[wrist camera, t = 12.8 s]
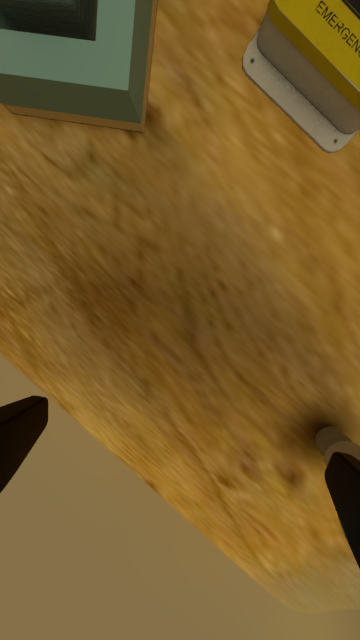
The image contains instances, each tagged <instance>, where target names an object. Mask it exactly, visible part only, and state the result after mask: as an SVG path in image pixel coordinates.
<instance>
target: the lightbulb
mask: <svg viewBox="0 0 360 640" xmlns="http://www.w3.org/2000/svg"><path fill="white" fill-rule="evenodd" d="M315 441H316V444H317V446H318V448H319V449H320V451H321V453H322V454H323V456H324V460H325V464H326V466H327V465H328V463H329V460H330V458H331V455H332V453H334V452H336V451H338V452H343V453H348V454H350V455H352V456H354V457H355V458H356V459H358V460H359V461H360V446H359V445H357V444H356V443H354V442H352V441H351V440H350V439H349V438H348V437H347V436H346V435H345V434H344V433H343V432H342V431H341V430H340V429H338V428H336V427H325V428H322V429H321V430H319V431H318V433H317V435H316V438H315ZM338 519H339V517H338ZM339 522H340V519H339ZM340 525H341V522H340ZM341 528H342V525H341ZM342 531H343V533H344V530H343V528H342ZM344 536H345V538H346V535H345V533H344ZM346 540H347V538H346ZM347 542H348V541H347ZM348 544H349V543H348Z"/></svg>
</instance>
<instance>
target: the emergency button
mask: <svg viewBox="0 0 360 640" xmlns="http://www.w3.org/2000/svg"><path fill="white" fill-rule="evenodd" d="M242 69H243V71H244V72H245V74H246V76H247V77H248V78H249V79H250V80H251V81H252V82H253V83H254V84H255V85H256V86H257V87H258V88H259V89H260V90H261V91H262V92H263V93H264V94H265V95H267V96H268V97H269V98H270V99H271V100H272V101H273V102H274V103H275V104H276V105H277V106H278V107H279V108H280V109H281V110H282V111H283V112H284V113H285V114H286V115H287V116H288V117H289V118H290V119H291V120H292V121H293V122H294V123H295V124H296V125H297V126H298V127H299V128H301V129H302V130H303V131H304V132H305V133H306V134H307V135H308V136H309V137H310V138H311V139H312V140H313V141H314V142H315V143H316V144H317V145H318V146H319V147H320V148H321V149H322V150H323V151H325V152H328V153H333V152H338V151H339V150H340V149H341V148H343V147H344V146H345V145H346V144H347V143H348V142H349V141H350V140H351V139H352V137H353V136H354V135H355V134H356V133H357V132H358V130H359V129H360V0H270V1H269V4H268V9H267V12H266V14H265V17H264V20H263V23H262V25H261V28H260V29H259V31H258V32H257V34H256V35H255V36H254V38H253V39H252V41H251V42H250V44H249V45H248V47H247V49H246V51H245V54H244V56H243V67H242Z"/></svg>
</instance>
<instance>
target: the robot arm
mask: <svg viewBox="0 0 360 640" xmlns="http://www.w3.org/2000/svg"><path fill="white" fill-rule="evenodd" d="M47 422H48V399H47V398H46V397H41V396H31V397H28V398H25V399H22V400H19V401H16V402H13V403H10V404H7V405H5V406H2V407H0V493H1V491H2V490H3V489H4V488H5V486H6V485H7V484H8V482H9V481H10V480H11V478H12V477H13V475H14V474H15V473H16V471H17V470H18V468H19V466H20V465H21V464H22V462H23V461H24V459H25V458H26V456H27V455H28V453H29V452H30V450H31V449H32V447H33V446H34V444H35V443H36V441H37V439H38V438H39V436H40V435H41V433H42V432H43V430H44V429H45V427H46V425H47ZM325 481H326V484H327V487H328V490H329V492H330V495H331V498H332V500H333V503H334V506H335V509H336V511H337V514H338V517H339V519H340V522H341V525H342V528H343V530H344V533H345V535H346V538H347V541H348V543H349V546H350V548H351V550H352V552H353V555H354V557H355V559H356V561H357V564H358V566H359V568H360V461H359V460H358V459H356V458H355V457H354V456H352V455H350V454H348V453H343V452H338V451H336V452H334V453H332V455H331V458H330V460H329V463H328V465H327V468H326V470H325Z"/></svg>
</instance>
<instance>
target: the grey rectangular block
mask: <svg viewBox="0 0 360 640" xmlns="http://www.w3.org/2000/svg"><path fill="white" fill-rule="evenodd" d="M0 7H1V9H2V10H3V11H4V13H5V14H6V15H7V16H8V18H9V19H10V20H11V22H12V23H13V24H14V26H15V27H16V28H17V30H18V31H21V32H29V33H36V34H44V35H52V36H59V37H67V38H75V39H82V40H90V41H96V26H97V7H98V0H0Z"/></svg>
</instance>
